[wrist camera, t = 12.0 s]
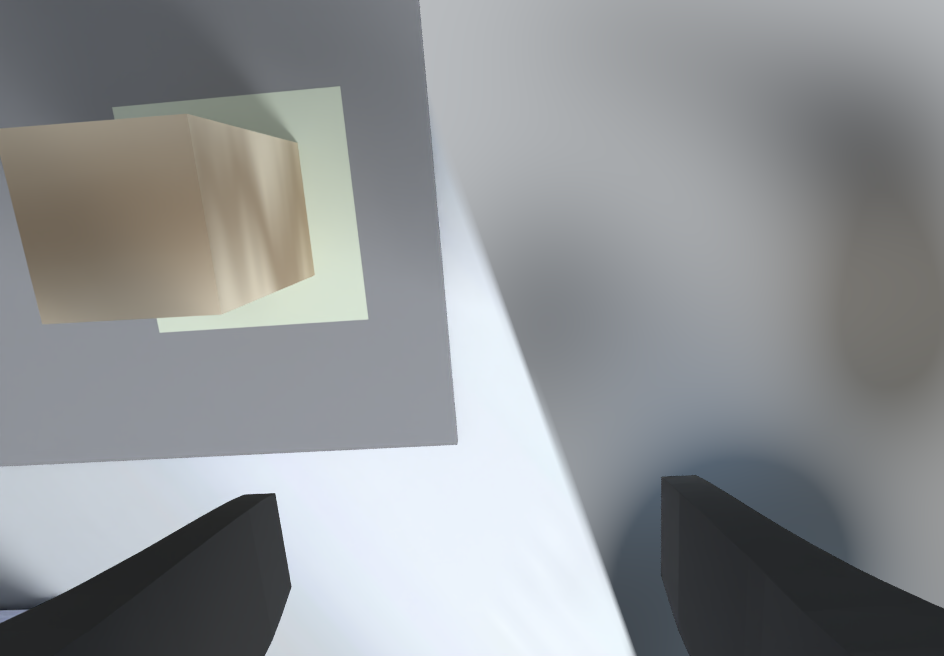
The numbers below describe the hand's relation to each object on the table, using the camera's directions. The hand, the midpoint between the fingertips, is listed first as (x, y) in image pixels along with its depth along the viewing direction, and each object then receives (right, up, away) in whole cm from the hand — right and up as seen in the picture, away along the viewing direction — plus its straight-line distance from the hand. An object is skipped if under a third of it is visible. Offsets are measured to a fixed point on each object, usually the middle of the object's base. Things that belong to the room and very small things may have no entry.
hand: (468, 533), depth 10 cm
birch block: (-7, +7, +7) cm, 12 cm away
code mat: (-13, +7, +8) cm, 17 cm away
